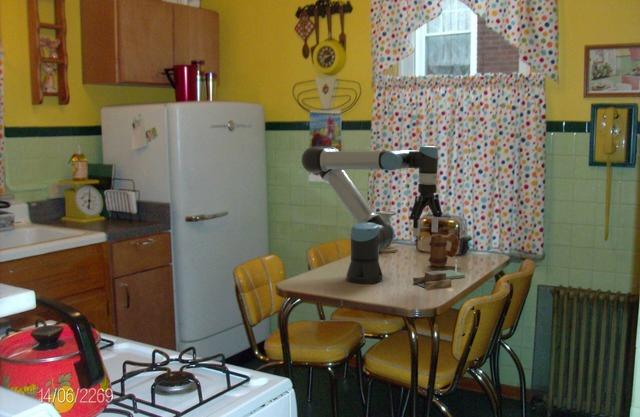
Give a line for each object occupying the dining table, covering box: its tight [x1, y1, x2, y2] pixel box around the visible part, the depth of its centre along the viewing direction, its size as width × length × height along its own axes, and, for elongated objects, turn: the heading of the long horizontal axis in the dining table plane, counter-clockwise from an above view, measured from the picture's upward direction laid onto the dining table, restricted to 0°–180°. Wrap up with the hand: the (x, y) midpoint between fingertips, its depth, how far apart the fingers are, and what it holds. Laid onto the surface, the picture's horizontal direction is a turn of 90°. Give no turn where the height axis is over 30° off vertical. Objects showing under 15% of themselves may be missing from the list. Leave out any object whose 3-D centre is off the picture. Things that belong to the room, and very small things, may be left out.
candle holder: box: [375, 210, 399, 254], centre depth 334 cm, size 12×12×20 cm
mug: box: [428, 232, 459, 268], centre depth 299 cm, size 15×8×15 cm, turn 105°
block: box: [424, 270, 447, 282], centre depth 264 cm, size 7×5×5 cm
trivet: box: [440, 269, 466, 280], centre depth 279 cm, size 10×10×1 cm
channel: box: [412, 275, 452, 290], centre depth 264 cm, size 12×10×2 cm
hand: (425, 233), depth 271 cm, fingers open, 13 cm apart
